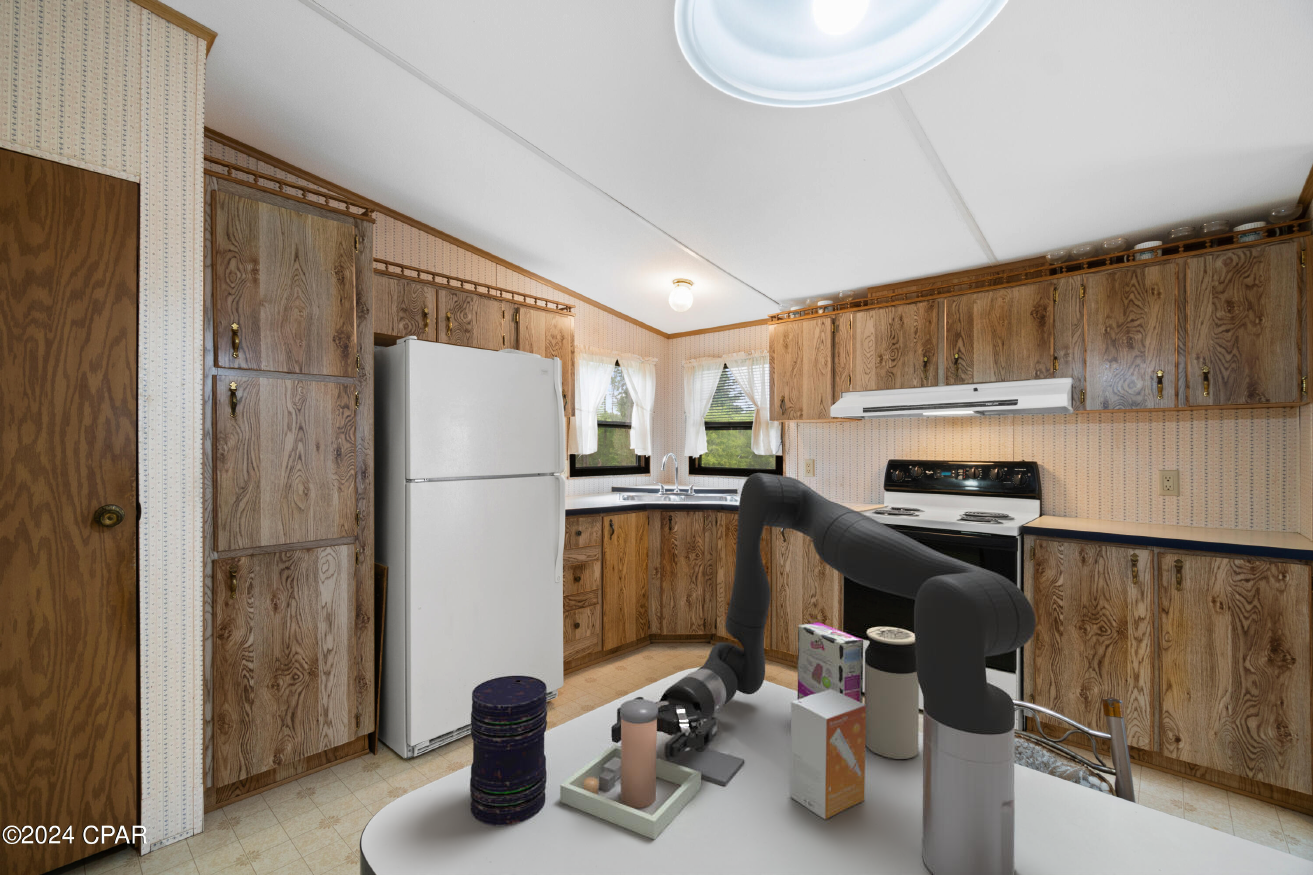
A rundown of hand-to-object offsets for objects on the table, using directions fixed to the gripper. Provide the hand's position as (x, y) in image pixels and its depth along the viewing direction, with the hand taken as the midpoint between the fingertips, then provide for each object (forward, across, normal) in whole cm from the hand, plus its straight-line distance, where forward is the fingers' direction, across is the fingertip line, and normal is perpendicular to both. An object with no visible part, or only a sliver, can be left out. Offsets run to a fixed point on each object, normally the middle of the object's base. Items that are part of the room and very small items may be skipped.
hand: (639, 743), depth 81 cm
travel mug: (-32, +27, +7) cm, 42 cm away
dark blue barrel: (+10, -14, +7) cm, 19 cm away
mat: (-12, +4, +7) cm, 14 cm away
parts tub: (0, -1, +7) cm, 7 cm away
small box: (-13, +22, +7) cm, 26 cm away
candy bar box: (-33, +17, +7) cm, 38 cm away
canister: (0, 0, +7) cm, 7 cm away
